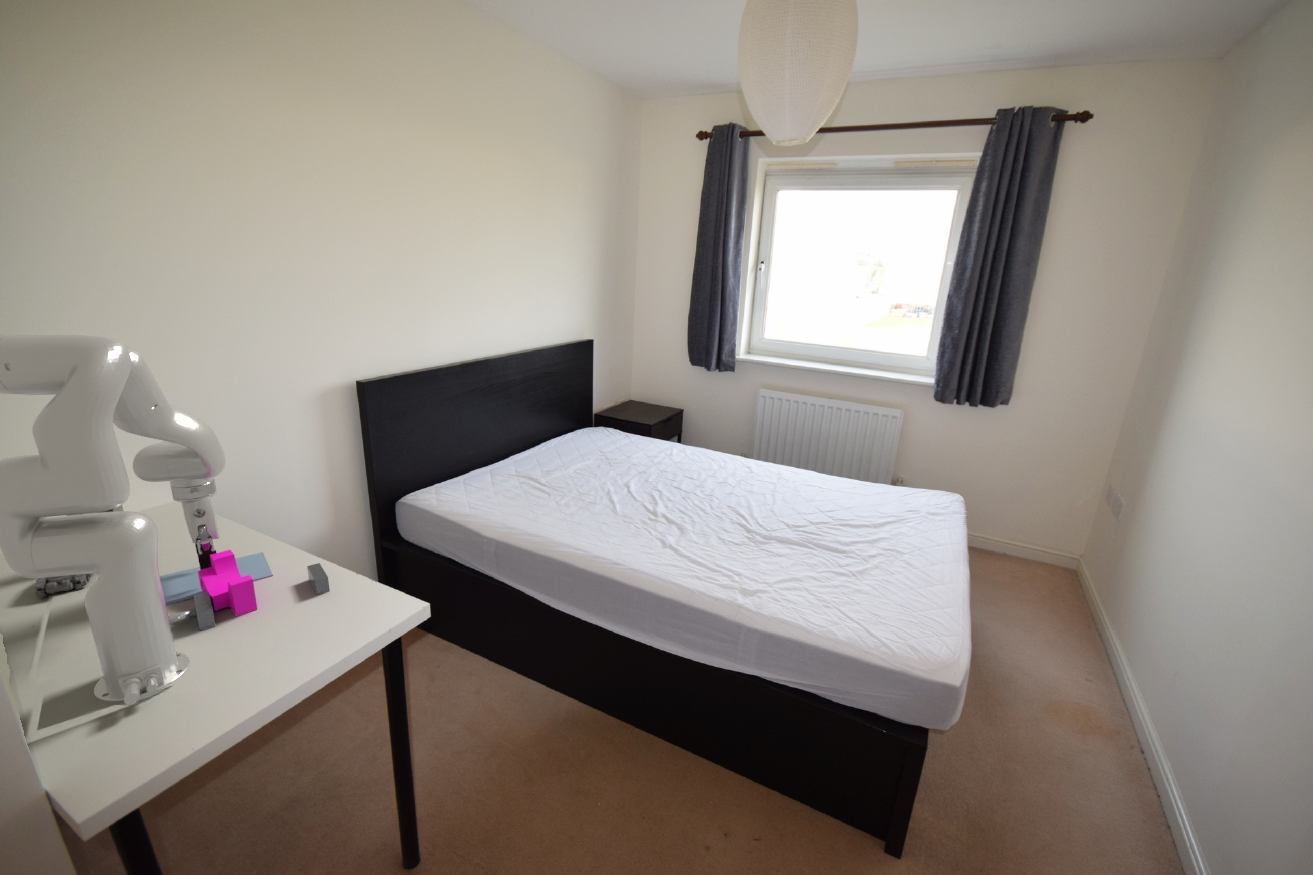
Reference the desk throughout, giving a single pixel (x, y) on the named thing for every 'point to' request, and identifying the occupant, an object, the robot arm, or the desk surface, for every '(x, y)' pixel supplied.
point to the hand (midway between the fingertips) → (207, 560)
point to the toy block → (228, 584)
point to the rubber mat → (188, 581)
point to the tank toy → (60, 583)
